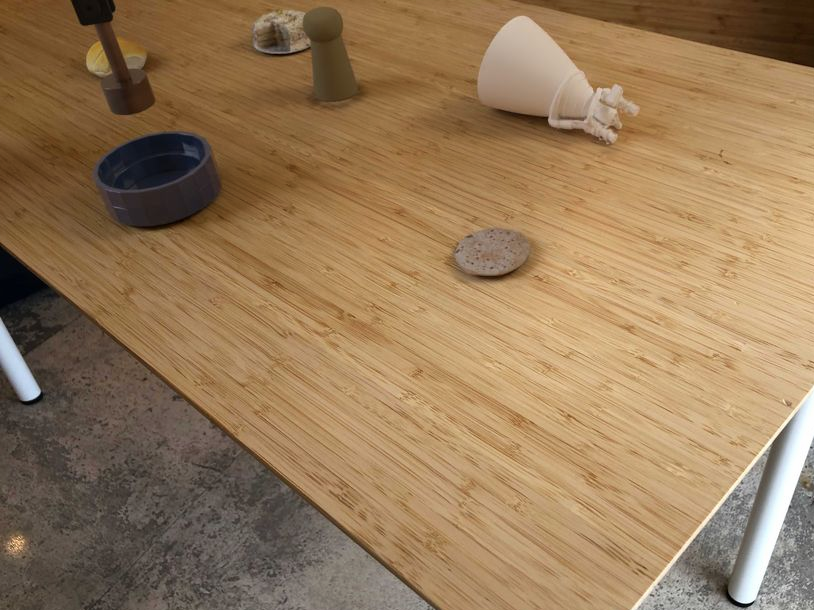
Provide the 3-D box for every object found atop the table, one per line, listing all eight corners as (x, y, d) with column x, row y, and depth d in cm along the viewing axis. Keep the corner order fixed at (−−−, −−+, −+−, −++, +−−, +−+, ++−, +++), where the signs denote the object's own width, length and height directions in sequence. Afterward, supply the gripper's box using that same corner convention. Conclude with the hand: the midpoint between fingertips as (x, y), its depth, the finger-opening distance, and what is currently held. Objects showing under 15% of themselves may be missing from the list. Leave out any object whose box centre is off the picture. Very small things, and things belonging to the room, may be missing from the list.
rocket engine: (648, 62, 93) (518, -3, 99) (590, 153, 94) (465, 84, 101) (661, 101, 104) (543, 41, 110) (609, 182, 105) (495, 118, 111)
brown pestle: (108, 118, 89) (48, -28, 79) (112, 98, 93) (55, -45, 83) (154, 110, 90) (100, -36, 80) (157, 91, 93) (105, -52, 83)
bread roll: (128, 50, 132) (119, 24, 129) (156, 65, 127) (147, 39, 124) (79, 69, 128) (68, 43, 125) (106, 85, 123) (96, 59, 120)
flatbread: (475, 226, 90) (474, 218, 89) (542, 240, 87) (541, 232, 86) (441, 271, 85) (440, 263, 84) (510, 288, 82) (510, 280, 81)
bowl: (103, 239, 94) (85, 201, 91) (114, 178, 104) (99, 142, 100) (222, 218, 95) (209, 179, 92) (223, 159, 105) (211, 123, 101)
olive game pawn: (306, 99, 115) (288, 18, 107) (326, 79, 119) (310, 0, 111) (346, 103, 113) (330, 21, 106) (365, 82, 117) (351, 2, 110)
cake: (267, 32, 134) (261, -4, 131) (327, 33, 132) (322, -3, 129) (242, 54, 126) (234, 18, 123) (305, 56, 125) (299, 19, 121)
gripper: (-10, -207, 78) (71, -4, 90) (-51, -170, 66) (49, 56, 79) (73, -218, 78) (142, -15, 91) (47, -184, 67) (130, 43, 80)
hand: (98, 17), depth 85 cm, fingers closed on brown pestle
